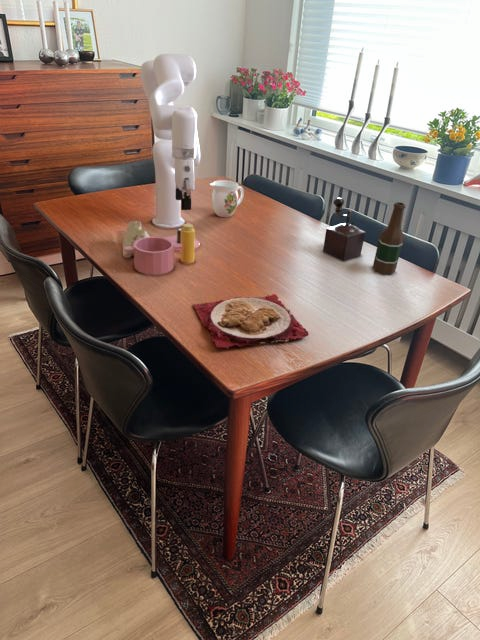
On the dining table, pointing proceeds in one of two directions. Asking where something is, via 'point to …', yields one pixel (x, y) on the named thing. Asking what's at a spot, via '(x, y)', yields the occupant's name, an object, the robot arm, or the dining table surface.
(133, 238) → the cheese
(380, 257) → the beer bottle
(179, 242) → the lid
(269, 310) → the plate with food
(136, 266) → the pot
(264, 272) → the dining table surface
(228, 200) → the pitcher
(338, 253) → the coffee grinder
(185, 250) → the yellow stepped cylinder
